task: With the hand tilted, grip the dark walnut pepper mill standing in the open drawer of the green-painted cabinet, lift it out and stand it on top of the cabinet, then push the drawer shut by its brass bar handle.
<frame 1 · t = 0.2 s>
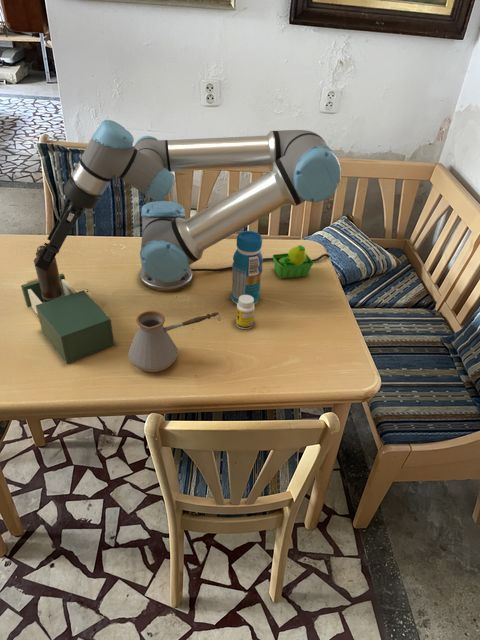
hand: (46, 254, 120), 16 cm above the table, tool tilted 35°, fingers open, 13 cm apart
beverage bottle: (244, 299, 141), on the table
drawer: (51, 297, 126), point 4 cm above the table, slide at 10.5 cm, touching pepper mill
supplement bottle: (244, 324, 132), on the table
cabinet: (78, 338, 121), on the table
fruit basket: (291, 274, 154), on the table
pepper mill: (55, 306, 127), point 2 cm above the table, touching drawer
coffee pot: (174, 362, 118), on the table
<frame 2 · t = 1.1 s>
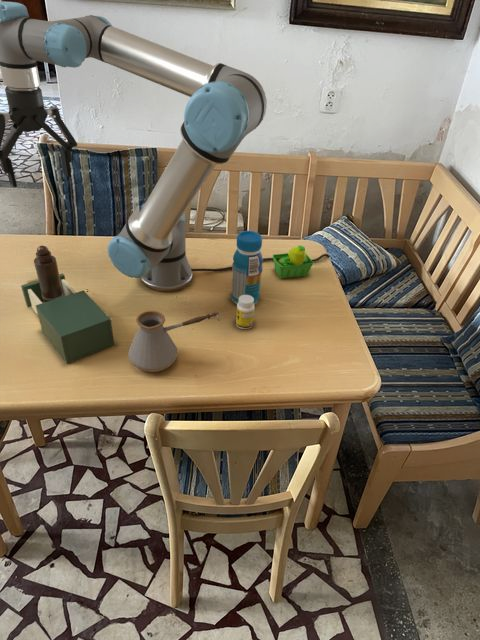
hand: (41, 180, 122), 29 cm above the table, tool pointing down, fingers open, 13 cm apart
nothing on the table moved.
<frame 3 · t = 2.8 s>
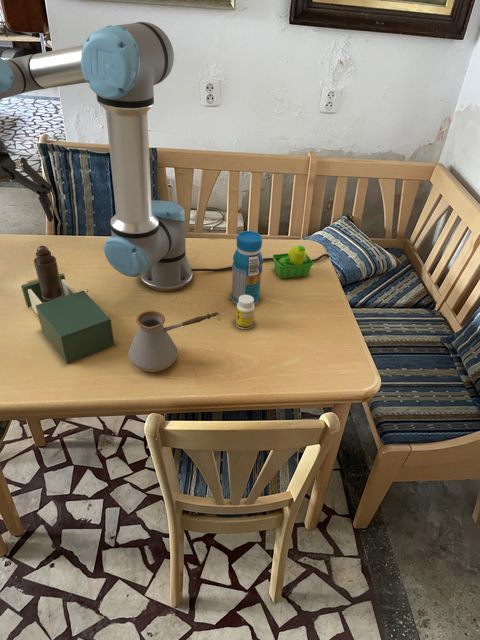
hand: (24, 225, 121), 20 cm above the table, tool tilted 45°, fingers open, 13 cm apart
nothing on the table moved.
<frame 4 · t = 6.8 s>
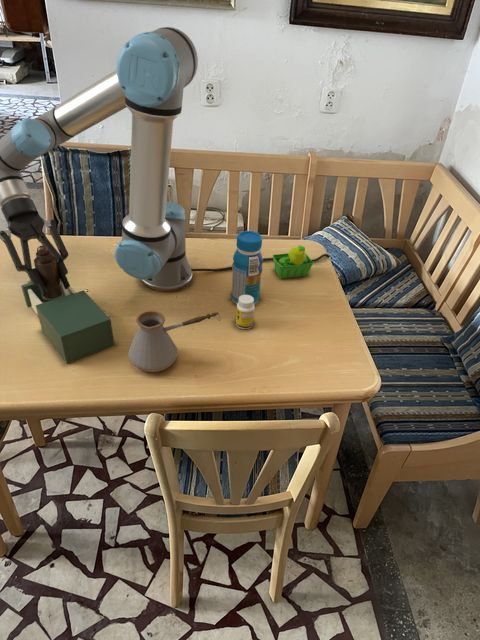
hand: (56, 290, 120), 9 cm above the table, tool tilted 45°, fingers closed on pepper mill, 5 cm apart
pepper mill: (55, 306, 127), point 2 cm above the table, touching drawer, gripper
everything else where it was.
when the fingers open (15 cm above the table, at t = 12.9 s): pepper mill stays where it is, resting on cabinet.
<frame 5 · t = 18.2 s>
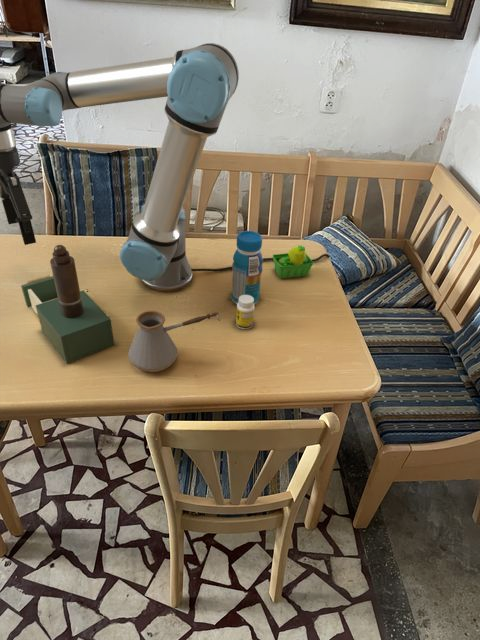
hand: (21, 232, 126), 17 cm above the table, tool pointing down, fingers open, 13 cm apart
drawer: (51, 297, 126), point 4 cm above the table, slide at 10.5 cm
pepper mill: (72, 312, 116), point 8 cm above the table, touching cabinet
everything else where it was.
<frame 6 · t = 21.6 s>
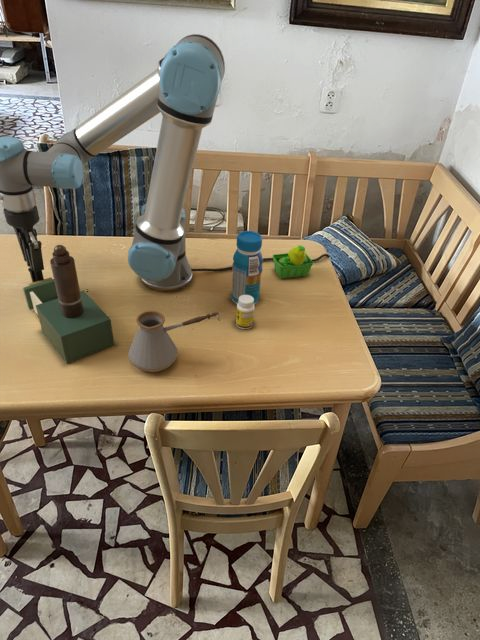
hand: (40, 288, 133), 2 cm above the table, tool pointing down, fingers closed
drawer: (53, 300, 126), point 4 cm above the table, slide at 9.1 cm, touching gripper
everything else where it was.
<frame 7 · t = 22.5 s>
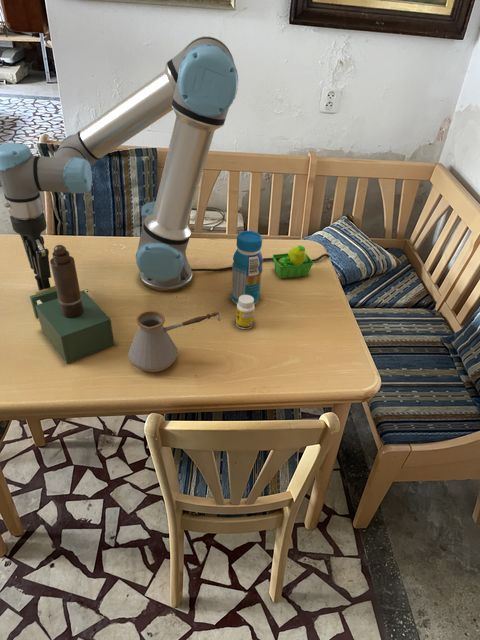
hand: (46, 296, 130), 2 cm above the table, tool pointing down, fingers closed
drawer: (61, 308, 123), point 4 cm above the table, slide at 4.6 cm, touching gripper
everything else where it was.
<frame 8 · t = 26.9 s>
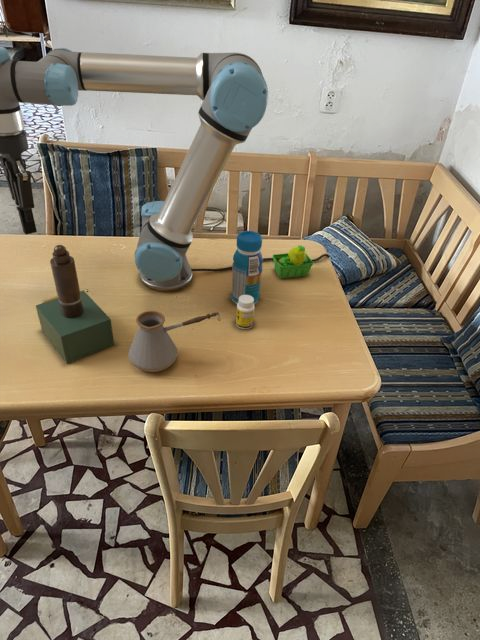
hand: (30, 232, 119), 20 cm above the table, tool pointing down, fingers closed
drawer: (68, 317, 121), point 4 cm above the table, slide at 0.0 cm, touching cabinet
everything else where it was.
at the end: pepper mill inside the target area on the cabinet (0.0 cm from its centre), point 8.1 cm above the cabinet's base; pepper mill tilted 0°; drawer slide at 0.0 cm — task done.
